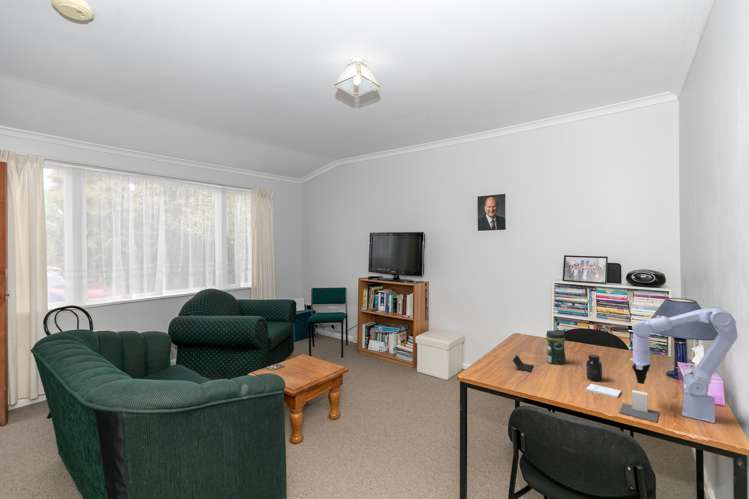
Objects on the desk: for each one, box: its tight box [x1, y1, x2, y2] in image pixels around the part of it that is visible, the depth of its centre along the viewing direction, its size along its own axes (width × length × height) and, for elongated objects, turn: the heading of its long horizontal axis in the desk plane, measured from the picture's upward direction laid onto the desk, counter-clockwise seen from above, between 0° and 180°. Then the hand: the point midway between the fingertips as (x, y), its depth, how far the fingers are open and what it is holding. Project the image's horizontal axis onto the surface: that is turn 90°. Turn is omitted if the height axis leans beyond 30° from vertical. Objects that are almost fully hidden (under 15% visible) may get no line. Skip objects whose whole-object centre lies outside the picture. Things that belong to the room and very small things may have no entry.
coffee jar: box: [545, 330, 567, 365], centre depth 205 cm, size 10×8×19 cm
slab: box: [631, 389, 649, 412], centre depth 146 cm, size 5×3×7 cm, turn 48°
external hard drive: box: [585, 383, 622, 399], centre depth 165 cm, size 2×8×12 cm
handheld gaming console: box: [512, 354, 534, 373], centre depth 197 cm, size 12×7×10 cm
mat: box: [618, 402, 660, 423], centre depth 144 cm, size 12×11×1 cm
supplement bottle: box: [586, 354, 603, 383], centre depth 180 cm, size 7×7×12 cm
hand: (641, 382), depth 150 cm, fingers open, 3 cm apart
